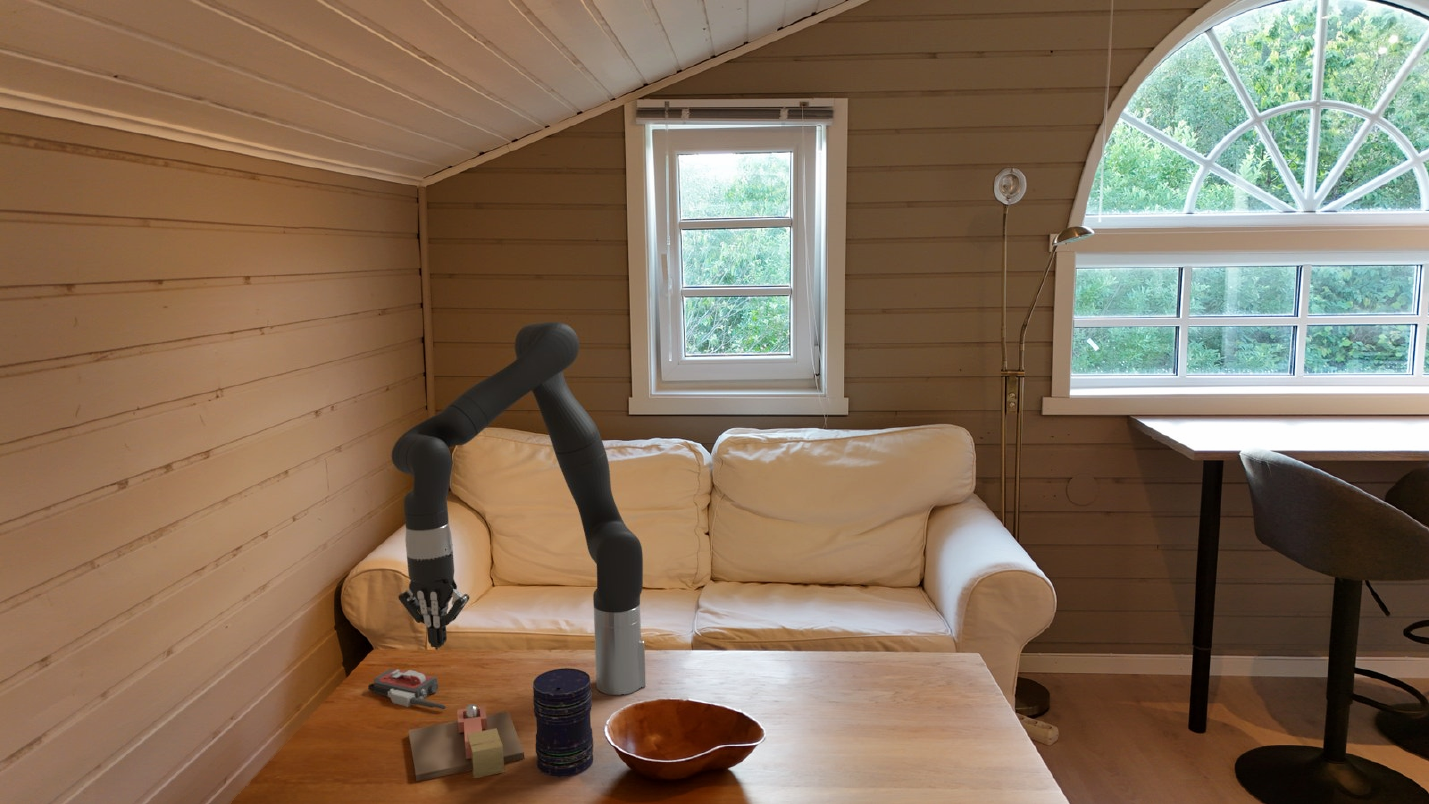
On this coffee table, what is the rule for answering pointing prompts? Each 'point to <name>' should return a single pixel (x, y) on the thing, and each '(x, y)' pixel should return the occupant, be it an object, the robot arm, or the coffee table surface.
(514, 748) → the board
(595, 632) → the robot arm
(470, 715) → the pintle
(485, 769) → the block
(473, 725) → the link
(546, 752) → the storage jar
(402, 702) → the walkie-talkie
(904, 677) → the coffee table surface
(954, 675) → the coffee table surface
